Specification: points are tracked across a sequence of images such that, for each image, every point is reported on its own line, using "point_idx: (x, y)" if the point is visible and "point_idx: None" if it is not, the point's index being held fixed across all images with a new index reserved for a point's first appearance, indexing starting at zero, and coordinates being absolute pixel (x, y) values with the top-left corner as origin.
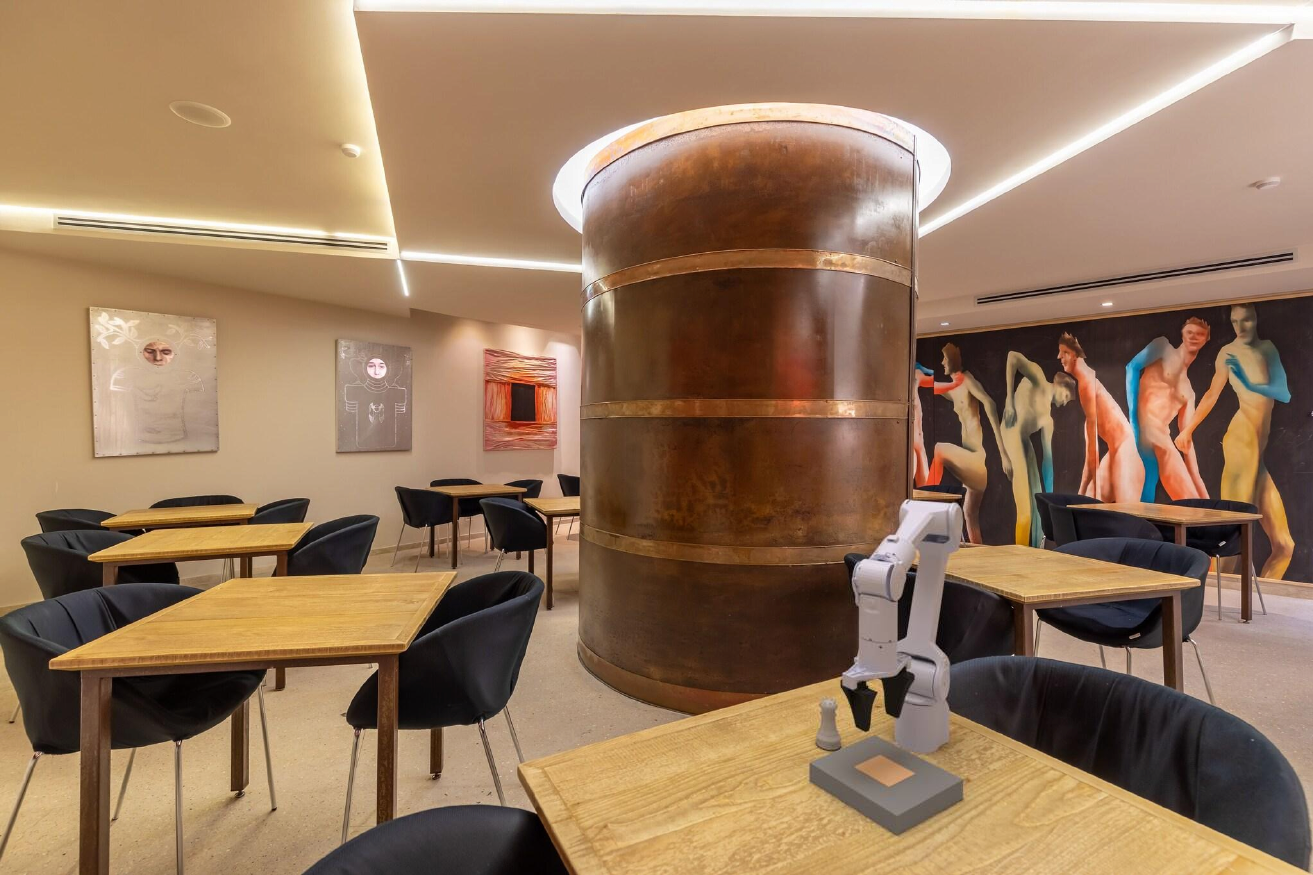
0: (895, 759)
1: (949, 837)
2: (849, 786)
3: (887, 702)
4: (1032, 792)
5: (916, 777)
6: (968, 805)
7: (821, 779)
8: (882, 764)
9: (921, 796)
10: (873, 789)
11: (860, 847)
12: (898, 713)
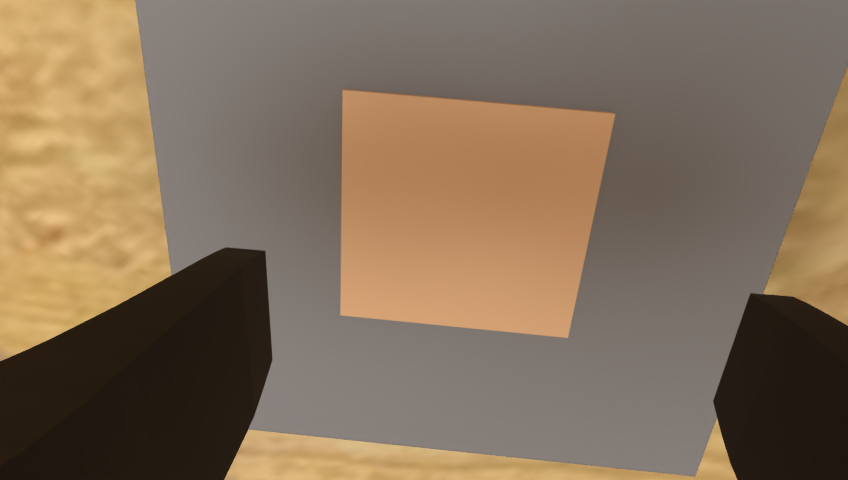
0: (639, 198)
1: (387, 459)
2: (162, 189)
3: (811, 393)
4: None
5: (539, 351)
6: None
7: None
8: (511, 187)
9: (403, 426)
10: None
11: (61, 314)
12: (730, 456)
